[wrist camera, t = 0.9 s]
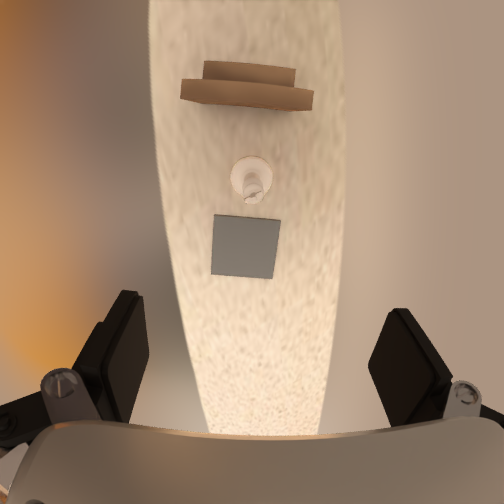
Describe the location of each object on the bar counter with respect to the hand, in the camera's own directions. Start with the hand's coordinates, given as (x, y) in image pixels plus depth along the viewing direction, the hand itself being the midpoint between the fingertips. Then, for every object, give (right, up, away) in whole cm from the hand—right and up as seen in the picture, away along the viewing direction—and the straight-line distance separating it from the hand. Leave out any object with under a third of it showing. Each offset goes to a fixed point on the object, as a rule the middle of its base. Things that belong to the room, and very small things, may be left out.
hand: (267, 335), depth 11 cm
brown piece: (-1, +22, +20) cm, 30 cm away
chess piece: (-1, +12, +25) cm, 28 cm away
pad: (-1, +4, +29) cm, 29 cm away
